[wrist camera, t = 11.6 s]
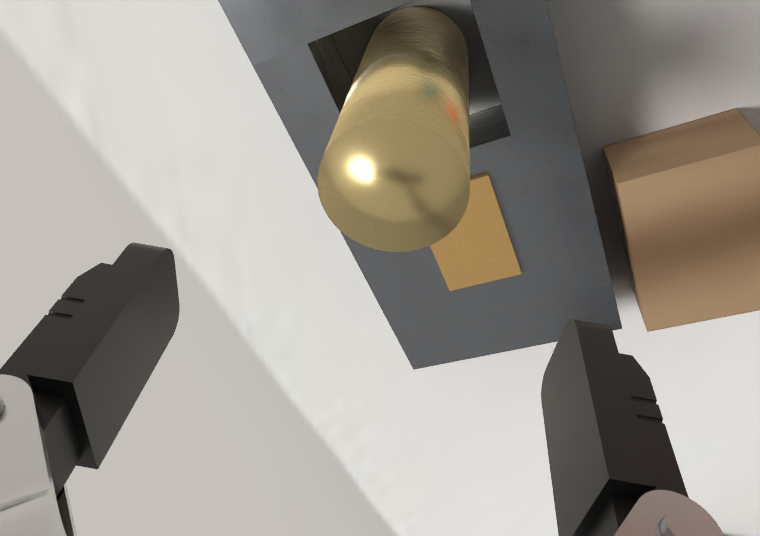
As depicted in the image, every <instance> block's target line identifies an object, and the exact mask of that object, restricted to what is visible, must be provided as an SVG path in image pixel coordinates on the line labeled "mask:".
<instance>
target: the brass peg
mask: <svg viewBox="0 0 760 536" xmlns="http://www.w3.org/2000/svg"><path fill="white" fill-rule="evenodd" d="M318 193H319V197H320V200H321V204H322V206H323V208H324V210H325V212H326V214H327V215H328V217H329V218H330V220H331V221H332V222H333V223H334V225H335V226H336V227H337V228H338V229H339V230H340V231H341V232H343V233H344V234H345V235H347V236H348V237H349V238H351V239H353V240H354V241H356V242H358V243H360V244H362V245H364V246H367V247H370V248H373V249H377V250H381V251H388V252H407V251H414V250H418V249H422V248H425V247H428V246H430V245H432V244H434V243H436V242H438V241H440V240H441V239H443V238H444V237H445V236H447V235H448V234H449V233H450V232H451V231H452V230H453V229H454V228H455V227H456V226H457V225H458V223H459V222H460V220H461V219H462V217H463V215H464V213H465V211H466V208H467V205H468V201H469V196H470V151H469V70H468V48H467V44H466V41H465V38H464V36H463V34H462V32H461V30H460V29H459V28H458V26H457V25H456V24H455V23H454V22H453V21H452V20H451V19H450V18H449V17H447V16H446V15H445V14H443V13H441V12H439V11H437V10H434V9H431V8H427V7H408V8H404V9H401V10H398V11H396V12H394V13H392V14H390V15H389V16H387V17H386V18H385V19H384V20H383V21H381V23H380V24H379V25H378V26H377V27H376V29H375V30H374V32H373V34H372V36H371V38H370V40H369V43H368V45H367V48H366V50H365V53H364V55H363V58H362V60H361V63H360V65H359V68H358V70H357V73H356V75H355V78H354V80H353V83H352V85H351V88H350V90H349V93H348V95H347V98H346V100H345V103H344V105H343V108H342V110H341V113H340V115H339V118H338V120H337V123H336V125H335V128H334V130H333V133H332V135H331V138H330V140H329V143H328V145H327V148H326V150H325V153H324V155H323V158H322V160H321V164H320V167H319V171H318Z"/></svg>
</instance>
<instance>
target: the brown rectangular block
mask: <svg viewBox="0 0 760 536" xmlns="http://www.w3.org/2000/svg"><path fill="white" fill-rule="evenodd" d="M603 150H604V154H605V159H606V164H607V169H608V173H609V178H610V183H611V188H612V193H613V197H614V202H615V207H616V212H617V216H618V221H619V226H620V231H621V236H622V240H623V245H624V250H625V255H626V259H627V264H628V269H629V274H630V279H631V283H632V288H633V291H634V294H635V297H636V300H637V303H638V306H639V309H640V312H641V315H642V318H643V320H644V323H645V326H646V329H647V332H649V331H654V330H659V329H664V328H669V327H675V326H680V325H685V324H690V323H695V322H701V321H706V320H711V319H716V318H721V317H727V316H732V315H737V314H742V313H747V312H753V311H758V310H760V135H759V133H758V132H757V131H756V130H755V129H754V128H753V127H752V125H751V124H750V123H749V122H748V121H747V120H746V119H745V118H744V116H743V115H742V114H741V113H740V112H739V111H738V110H737V108H736V109H733V110H729V111H726V112H722V113H719V114H716V115H712V116H709V117H705V118H702V119H698V120H695V121H692V122H688V123H685V124H681V125H678V126H674V127H671V128H668V129H664V130H661V131H657V132H654V133H650V134H647V135H644V136H640V137H637V138H633V139H630V140H626V141H623V142H620V143H616V144H613V145H609V146H606V147H603Z"/></svg>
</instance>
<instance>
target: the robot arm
mask: <svg viewBox="0 0 760 536" xmlns="http://www.w3.org/2000/svg"><path fill="white" fill-rule="evenodd" d="M178 317H179V297H178V288H177V280H176V270H175V261H174V255H173V252H172V250H171V249H168V248H162V247H156V246H150V245H145V244H139V243H131V244H129V245H128V246H127V247H126V248H125V250H124V251H123V252H122V253H121V255H120V256H119V257H118V258H117V260H116V261H115V262H114V264H113V265H110V264H104V263H100V264H98V265H97V266H95V267H93V268H92V269H90V270H88V271H87V272H85V273H83V274H82V275H80V276H78V277H77V278H76V279H75V280H74V282H73V283H72V284H71V285H70V286H69V288H68V289H67V290H66V291H65V292H64V294H63V295H62V298H61V300H58V301H57V302H56V303H55V304H54V306H53V307H52V308H51V309H50V310H49V314H48V315H45V316H44V318H43V319H42V320H41V321H40V322H39V324H38V325H37V326H36V327H35V328H34V329H33V331H32V332H31V333H30V334H29V335H28V337H27V338H26V339H25V340H24V341H23V343H22V344H21V345H20V346H19V347H18V349H17V350H16V351H15V352H14V353H13V355H12V356H11V357H10V358H9V359H8V360H7V362H6V363H5V364H4V365H3V367H2V368H1V369H0V536H77V535H76V530H75V525H74V521H73V516H72V512H71V507H70V502H69V497H68V492H67V488H66V485H65V483H66V481H67V479H68V478H69V476H70V474H71V473H72V471H73V469H74V468H75V466H76V465H77V466H83V467H88V468H94V469H98V468H99V466H100V464H101V463H102V461H103V459H104V457H105V455H106V454H107V452H108V450H109V448H110V447H111V445H112V443H113V441H114V439H115V438H116V436H117V434H118V432H119V431H120V429H121V427H122V425H123V423H124V421H125V420H126V418H127V416H128V415H129V413H130V411H131V409H132V407H133V406H134V404H135V402H136V400H137V398H138V397H139V395H140V393H141V391H142V389H143V388H144V386H145V384H146V382H147V381H148V379H149V377H150V375H151V373H152V372H153V370H154V368H155V366H156V365H157V363H158V361H159V359H160V357H161V355H162V354H163V352H164V350H165V349H166V347H167V345H168V343H169V341H170V340H171V338H172V336H173V334H174V332H175V329H176V326H177V322H178ZM541 400H542V408H543V416H544V424H545V432H546V440H547V447H548V455H549V463H550V471H551V479H552V486H553V494H554V502H555V510H556V517H557V525H558V533H559V536H724V535H723V533H722V531H721V529H720V527H719V526H718V524H717V523H716V521H715V520H714V519H713V518H712V517H711V515H710V514H709V513H708V512H707V511H706V510H705V509H704V508H702V507H701V506H700V505H698V504H697V503H696V502H694V501H693V500H691V499H690V498H689V497H688V494H687V492H686V489H685V486H684V483H683V479H682V476H681V473H680V470H679V467H678V464H677V461H676V458H675V455H674V452H673V449H672V446H671V442H670V439H669V436H668V433H667V430H666V427H665V424H663V423H662V420H663V418H662V415H661V412H660V409H659V406H658V405H656V401H657V399H656V396H655V393H654V390H653V387H652V384H651V381H650V378H649V376H648V375H647V374H646V372H645V371H644V370H643V369H642V367H641V366H640V365H639V364H638V362H637V361H636V360H635V358H634V357H633V356H631V355H626V354H620V353H618V349H617V346H616V342H615V339H614V335H613V332H612V329H611V327H610V326H608V325H604V324H598V323H592V322H587V321H581V320H575V319H570V320H568V322H567V323H566V325H565V327H564V329H563V331H562V333H561V336H560V338H559V340H558V343H557V345H556V347H555V349H554V352H553V354H552V356H551V359H550V361H549V363H548V365H547V368H546V370H545V373H544V377H543V382H542V390H541Z"/></svg>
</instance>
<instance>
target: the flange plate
mask: <svg viewBox="0 0 760 536" xmlns="http://www.w3.org/2000/svg"><path fill="white" fill-rule="evenodd" d="M218 1H219V3H220V5H221V7H222V9H223V10H224V12H225V14H226V16H227V18H228V20H229V22H230V24H231V26H232V27H233V29H234V31H235V33H236V35H237V37H238V39H239V41H240V43H241V44H242V46H243V48H244V50H245V52H246V54H247V56H248V58H249V60H250V61H251V63H252V65H253V67H254V69H255V71H256V73H257V75H258V77H259V78H260V80H261V82H262V84H263V86H264V88H265V90H266V92H267V94H268V95H269V97H270V99H271V101H272V103H273V105H274V107H275V109H276V111H277V112H278V114H279V116H280V118H281V120H282V122H283V124H284V126H285V128H286V129H287V131H288V133H289V135H290V137H291V139H292V141H293V143H294V145H295V146H296V148H297V150H298V152H299V154H300V156H301V158H302V160H303V162H304V163H305V165H306V167H307V169H308V171H309V173H310V175H311V177H312V179H313V180H314V182H315V184H316V186H317V188H318V171H319V167H320V164H321V160H322V158H323V155H324V153H325V150H326V148H327V145H328V143H329V140H330V138H331V135H332V133H333V130H334V128H335V125H336V123H337V120H338V118H339V115H340V113H341V110H342V108H343V105H344V103H345V100H346V98H347V95H348V93H349V90H350V88H351V85H352V82H351V80H350V78H349V75H348V73H347V71H346V69H345V66H344V64H343V62H342V60H341V57H340V55H339V53H338V51H337V48H336V46H335V44H334V41H333V39H332V37H331V35H330V34H332V33H335V32H337V31H340V30H342V29H344V28H347V27H349V26H352V25H354V24H357V23H359V22H362V21H364V20H367V19H369V18H371V17H374V16H376V15H379V14H381V13H384V12H386V11H389V10H391V9H394V8H396V7H398V6H401V5H403V4H406V3H408V2H411V1H413V0H218ZM470 1H471V5H472V8H473V11H474V15H475V18H476V21H477V24H478V28H479V31H480V34H481V38H482V41H483V44H484V48H485V51H486V54H487V58H488V61H489V64H490V68H491V71H492V74H493V78H494V81H495V84H496V87H497V91H498V94H499V97H500V101H501V104H502V105H499V106H496V107H493V108H490V109H487V110H484V111H481V112H478V113H475V114H472V115H469V151H470V196H469V201H468V205H467V208H466V211H465V213H464V215H463V217H462V219H461V220H460V222H459V223H458V225H457V226H456V227H455V228H454V229H453V230H452V231H451V232H450V233H449V234H448V235H447V236H445V237H444V238H443V239H441V240H440V241H438V242H436V243H434V244H432V245H430V246H428V247H425V248H422V249H418V250H414V251H407V252H388V251H381V250H377V249H373V248H370V247H367V246H364V245H362V244H360V243H358V242H356V241H354V240H353V239H351V238H349V237H348V236H347V235H345V234H344V233H343V232H341V233H342V235H343V237H344V239H345V241H346V243H347V245H348V246H349V248H350V250H351V252H352V254H353V256H354V258H355V260H356V262H357V263H358V265H359V267H360V269H361V271H362V273H363V275H364V277H365V279H366V280H367V282H368V284H369V286H370V288H371V290H372V292H373V294H374V296H375V297H376V299H377V301H378V303H379V305H380V307H381V309H382V311H383V313H384V314H385V316H386V318H387V320H388V322H389V324H390V326H391V328H392V330H393V331H394V333H395V335H396V337H397V339H398V341H399V343H400V345H401V347H402V348H403V350H404V352H405V354H406V356H407V358H408V360H409V362H410V364H411V365H412V367H413V369H419V368H424V367H429V366H434V365H439V364H444V363H449V362H454V361H459V360H465V359H470V358H475V357H480V356H485V355H490V354H495V353H500V352H505V351H510V350H515V349H521V348H526V347H531V346H536V345H541V344H546V343H551V342H556V341H558V340H559V338H560V336H561V333H562V331H563V329H564V327H565V325H566V323H567V322H568V320H570V319H575V320H581V321H587V322H592V323H598V324H604V325H608V326H610V327H611V329H612V330H617V329H622V326H621V321H620V317H619V313H618V308H617V304H616V300H615V296H614V291H613V287H612V283H611V278H610V274H609V270H608V266H607V261H606V257H605V253H604V248H603V244H602V240H601V236H600V231H599V227H598V223H597V218H596V214H595V210H594V206H593V201H592V197H591V193H590V188H589V184H588V180H587V176H586V171H585V167H584V163H583V158H582V154H581V150H580V146H579V141H578V137H577V133H576V129H575V124H574V120H573V116H572V111H571V107H570V103H569V99H568V94H567V90H566V86H565V81H564V77H563V73H562V69H561V64H560V60H559V56H558V51H557V47H556V43H555V39H554V34H553V30H552V26H551V21H550V17H549V13H548V9H547V4H546V0H470Z"/></svg>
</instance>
